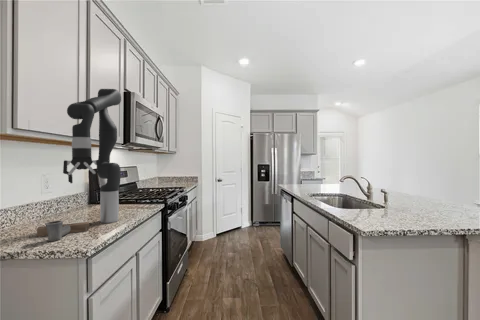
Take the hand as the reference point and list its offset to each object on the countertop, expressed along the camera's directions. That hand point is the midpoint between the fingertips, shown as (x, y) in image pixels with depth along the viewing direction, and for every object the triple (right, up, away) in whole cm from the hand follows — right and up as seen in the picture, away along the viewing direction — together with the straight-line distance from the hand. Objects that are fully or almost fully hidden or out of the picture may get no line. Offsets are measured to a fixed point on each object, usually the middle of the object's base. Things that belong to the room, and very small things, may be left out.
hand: (82, 182), depth 115 cm
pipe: (-8, -25, -4) cm, 26 cm away
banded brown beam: (-12, -24, +4) cm, 27 cm away
